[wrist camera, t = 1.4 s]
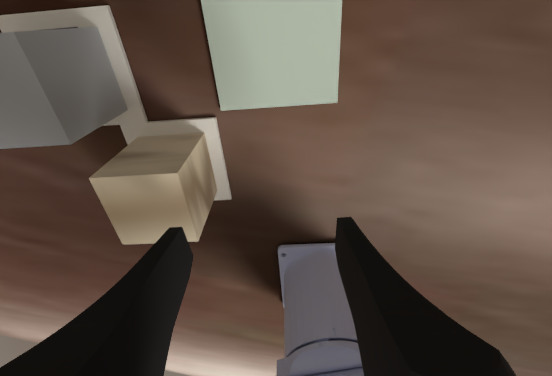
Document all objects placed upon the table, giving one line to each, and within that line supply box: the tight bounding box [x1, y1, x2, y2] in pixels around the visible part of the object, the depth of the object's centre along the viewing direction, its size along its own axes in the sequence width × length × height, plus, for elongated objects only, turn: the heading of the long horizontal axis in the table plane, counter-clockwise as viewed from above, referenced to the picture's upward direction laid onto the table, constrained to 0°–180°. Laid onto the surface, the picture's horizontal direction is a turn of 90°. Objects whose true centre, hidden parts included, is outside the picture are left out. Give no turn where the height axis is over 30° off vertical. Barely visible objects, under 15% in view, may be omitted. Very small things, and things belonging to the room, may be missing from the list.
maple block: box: [89, 133, 217, 245], centre depth 19 cm, size 5×5×6 cm
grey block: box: [0, 27, 128, 149], centre depth 15 cm, size 5×5×6 cm
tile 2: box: [120, 117, 232, 200], centre depth 21 cm, size 7×7×1 cm
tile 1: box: [0, 5, 148, 126], centre depth 18 cm, size 7×7×1 cm
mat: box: [201, 0, 342, 111], centre depth 17 cm, size 8×8×1 cm
